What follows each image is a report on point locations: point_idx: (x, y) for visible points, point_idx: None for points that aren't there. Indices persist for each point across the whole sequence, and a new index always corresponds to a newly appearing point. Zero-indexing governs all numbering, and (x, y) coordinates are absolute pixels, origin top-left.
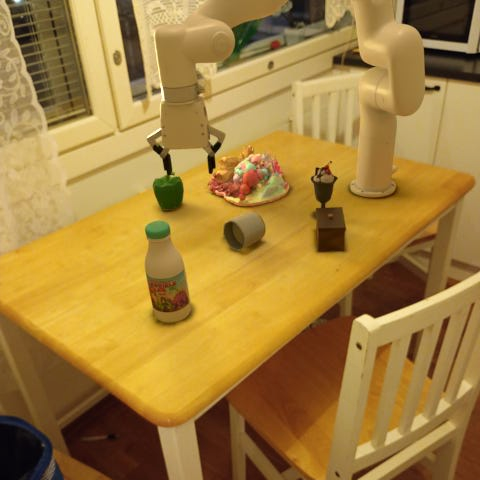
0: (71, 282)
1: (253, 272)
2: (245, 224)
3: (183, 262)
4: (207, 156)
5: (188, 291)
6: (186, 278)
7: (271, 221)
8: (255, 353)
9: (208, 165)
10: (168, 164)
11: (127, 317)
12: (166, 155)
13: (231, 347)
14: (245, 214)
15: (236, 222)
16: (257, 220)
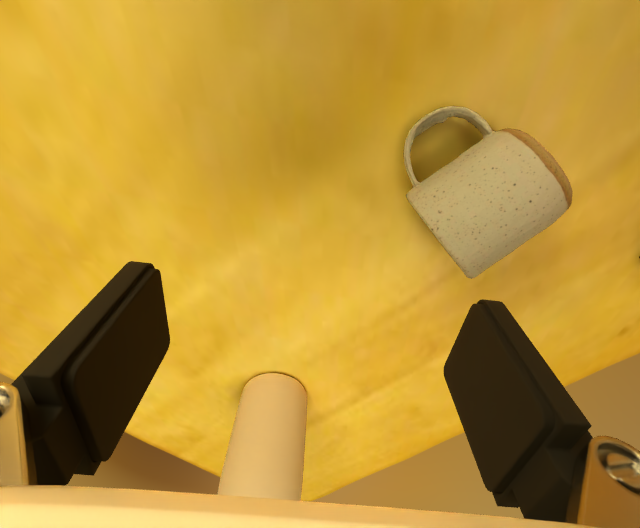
0: (17, 287)
1: (444, 313)
2: (492, 262)
3: (299, 498)
4: (499, 483)
5: (305, 432)
6: (303, 460)
7: (620, 22)
8: (395, 463)
9: (466, 425)
10: (129, 415)
11: (197, 393)
12: (64, 479)
13: (365, 453)
14: (519, 204)
15: (465, 268)
16: (546, 226)
